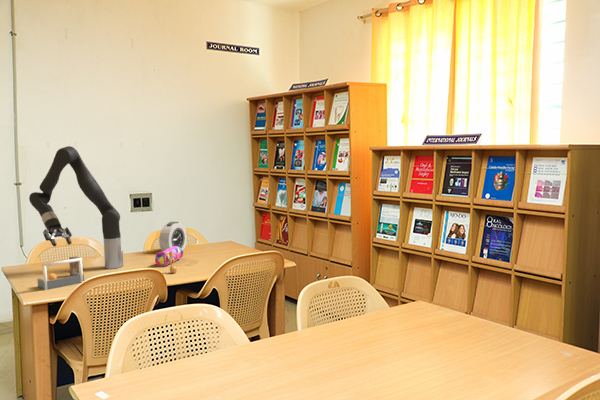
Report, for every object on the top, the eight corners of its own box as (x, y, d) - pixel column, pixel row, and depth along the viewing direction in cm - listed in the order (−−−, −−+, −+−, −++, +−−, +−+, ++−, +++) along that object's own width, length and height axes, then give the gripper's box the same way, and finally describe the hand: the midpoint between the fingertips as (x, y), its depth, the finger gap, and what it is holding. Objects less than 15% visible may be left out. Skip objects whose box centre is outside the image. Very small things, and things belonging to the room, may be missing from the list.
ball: (55, 279, 259) (54, 272, 259) (58, 280, 256) (57, 273, 256) (47, 281, 256) (46, 273, 256) (50, 282, 253) (49, 274, 253)
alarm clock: (169, 254, 322) (168, 224, 320) (159, 253, 325) (158, 223, 323) (187, 248, 342) (186, 220, 340) (178, 247, 344) (177, 219, 343)
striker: (77, 274, 271) (76, 256, 270) (80, 275, 268) (79, 257, 267) (70, 275, 268) (69, 257, 267) (73, 276, 265) (72, 258, 264)
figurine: (167, 274, 267) (166, 252, 266) (163, 272, 271) (162, 251, 270) (182, 272, 272) (181, 250, 271) (177, 270, 277) (176, 249, 276)
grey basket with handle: (76, 279, 259) (75, 255, 258) (84, 282, 253) (83, 257, 252) (36, 286, 245) (35, 261, 244) (43, 290, 239) (42, 264, 237)
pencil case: (169, 267, 285) (168, 251, 285) (154, 266, 287) (153, 251, 286) (184, 259, 307) (183, 245, 306) (170, 259, 308) (169, 244, 307)
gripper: (41, 218, 270) (53, 242, 265) (65, 216, 282) (77, 239, 277) (35, 226, 273) (47, 250, 269) (60, 224, 286) (71, 247, 281)
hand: (62, 244), depth 273 cm, fingers open, 8 cm apart
